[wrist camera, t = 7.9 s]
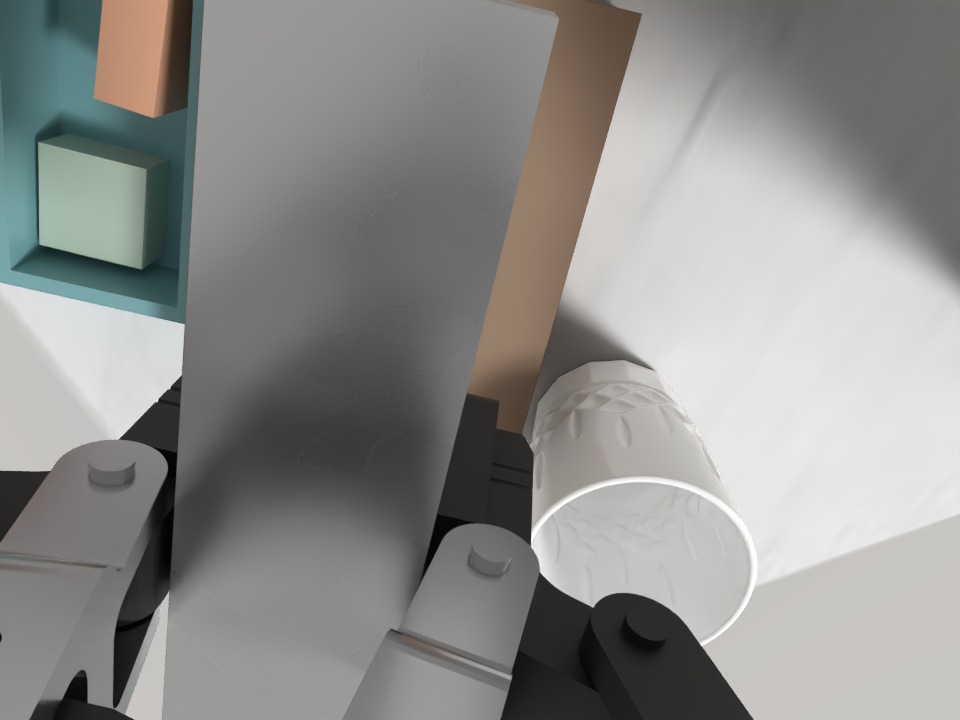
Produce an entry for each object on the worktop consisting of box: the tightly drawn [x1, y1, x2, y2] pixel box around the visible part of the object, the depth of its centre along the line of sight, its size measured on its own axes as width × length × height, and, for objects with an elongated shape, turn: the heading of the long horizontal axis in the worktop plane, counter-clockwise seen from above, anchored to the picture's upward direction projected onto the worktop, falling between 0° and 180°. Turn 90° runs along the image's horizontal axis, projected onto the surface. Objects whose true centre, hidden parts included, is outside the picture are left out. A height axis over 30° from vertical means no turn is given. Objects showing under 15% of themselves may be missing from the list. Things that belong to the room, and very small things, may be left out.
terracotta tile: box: [94, 0, 193, 118], centre depth 26 cm, size 4×4×2 cm
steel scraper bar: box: [162, 0, 559, 720], centre depth 12 cm, size 3×14×5 cm, turn 167°
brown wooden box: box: [182, 0, 642, 434], centre depth 27 cm, size 12×15×6 cm
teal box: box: [0, 0, 203, 324], centre depth 28 cm, size 8×13×4 cm, turn 168°
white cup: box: [530, 360, 757, 646], centre depth 30 cm, size 8×8×10 cm
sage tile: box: [38, 134, 170, 270], centre depth 30 cm, size 4×4×2 cm
